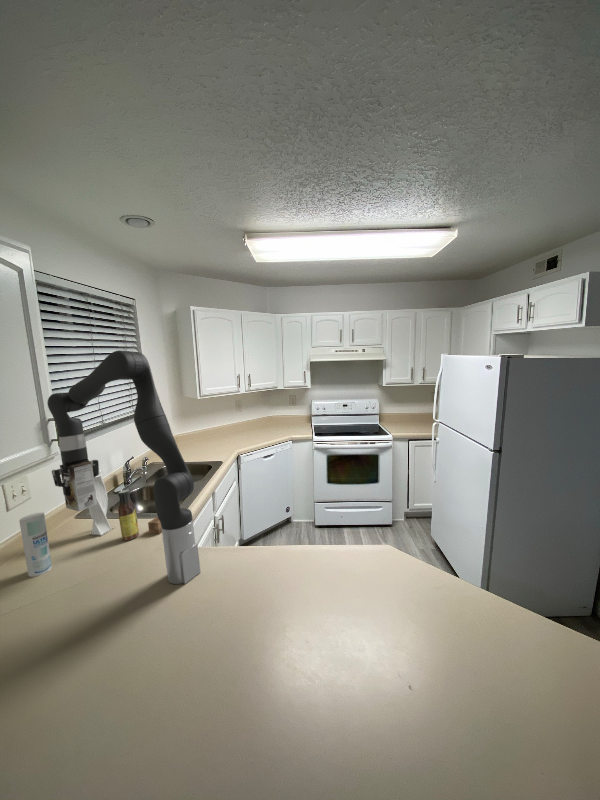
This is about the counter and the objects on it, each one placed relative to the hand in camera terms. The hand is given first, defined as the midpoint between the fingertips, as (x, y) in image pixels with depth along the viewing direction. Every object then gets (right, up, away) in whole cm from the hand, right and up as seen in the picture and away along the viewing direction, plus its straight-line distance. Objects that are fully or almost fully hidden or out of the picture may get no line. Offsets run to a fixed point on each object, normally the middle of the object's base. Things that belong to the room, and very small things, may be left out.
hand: (80, 492), depth 107 cm
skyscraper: (-7, -25, +23) cm, 35 cm away
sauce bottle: (+9, -24, +16) cm, 30 cm away
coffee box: (0, -5, 0) cm, 5 cm away
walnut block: (+19, -23, +19) cm, 36 cm away
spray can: (-12, -27, -3) cm, 30 cm away
